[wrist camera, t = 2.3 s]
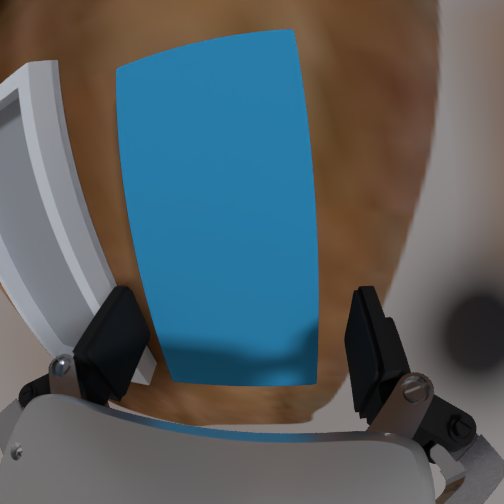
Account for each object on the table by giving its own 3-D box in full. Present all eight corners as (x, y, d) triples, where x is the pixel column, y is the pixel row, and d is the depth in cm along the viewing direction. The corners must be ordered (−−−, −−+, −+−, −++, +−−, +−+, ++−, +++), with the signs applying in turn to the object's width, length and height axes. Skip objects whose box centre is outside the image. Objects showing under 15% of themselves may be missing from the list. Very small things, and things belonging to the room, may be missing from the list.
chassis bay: (-30, 126, 10) (-50, 135, 8) (57, 59, 9) (27, 62, 7) (64, 345, 23) (55, 361, 21) (157, 363, 22) (149, 385, 20)
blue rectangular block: (177, 99, 15) (216, 354, 20) (116, 68, 8) (190, 424, 13) (290, 83, 14) (308, 353, 19) (293, 29, 7) (313, 428, 12)
